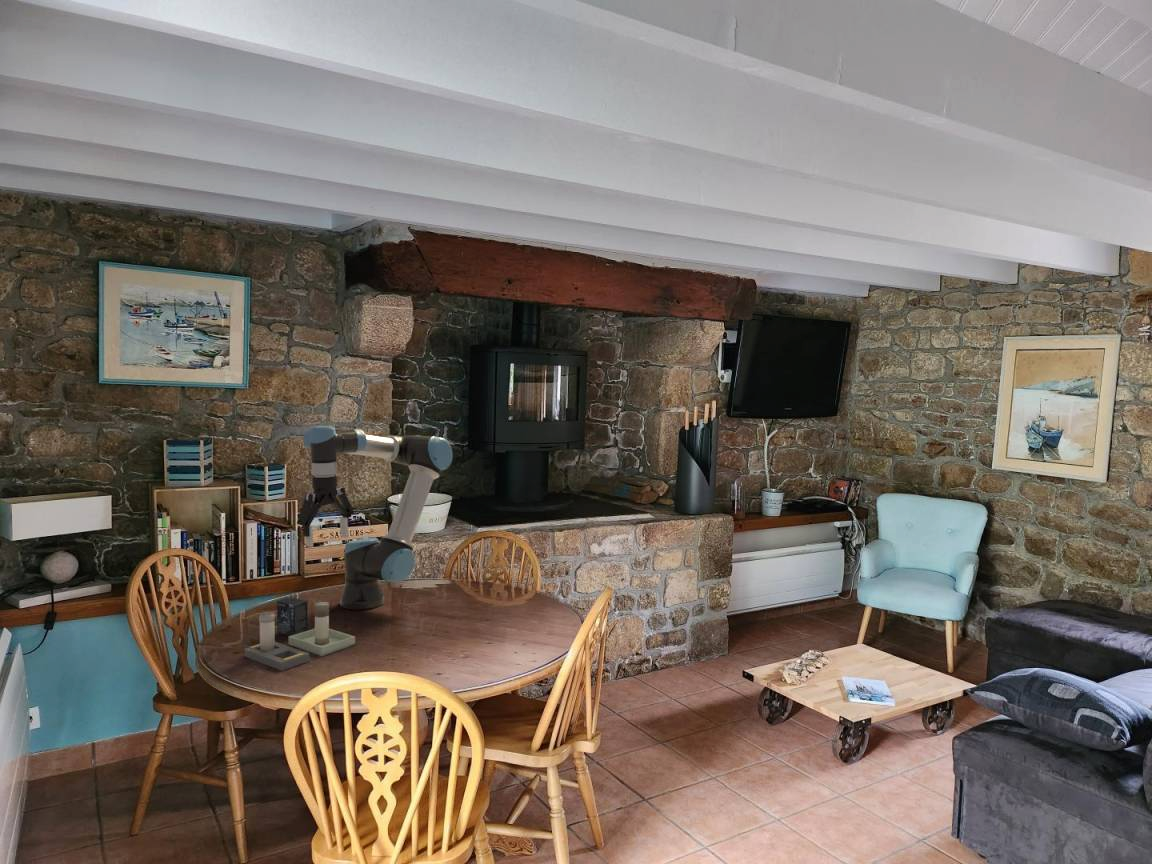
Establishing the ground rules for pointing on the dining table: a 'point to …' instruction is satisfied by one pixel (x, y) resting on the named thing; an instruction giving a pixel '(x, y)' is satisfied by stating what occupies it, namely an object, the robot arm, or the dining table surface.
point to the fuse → (267, 631)
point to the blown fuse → (321, 623)
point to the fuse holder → (278, 656)
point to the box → (292, 616)
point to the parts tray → (308, 644)
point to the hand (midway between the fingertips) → (327, 541)
